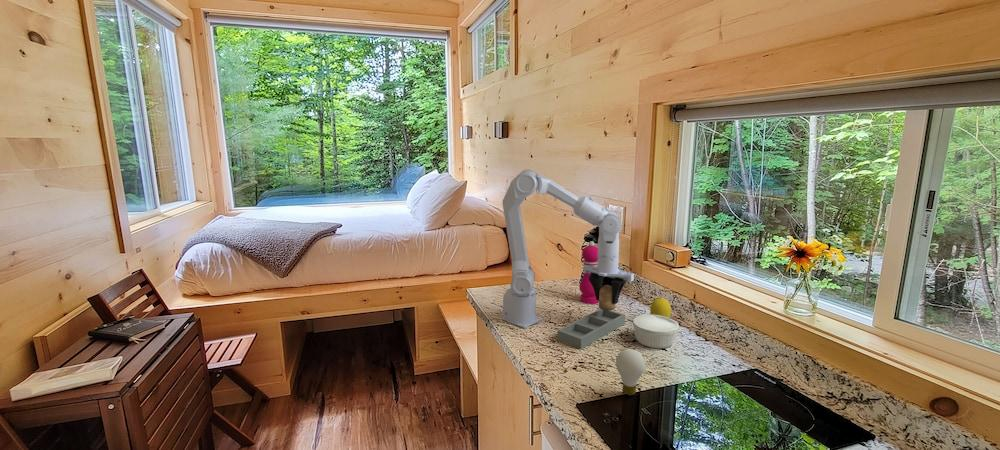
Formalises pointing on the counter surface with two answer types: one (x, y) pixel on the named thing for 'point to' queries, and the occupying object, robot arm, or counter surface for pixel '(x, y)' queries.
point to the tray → (590, 328)
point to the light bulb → (630, 369)
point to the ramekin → (655, 330)
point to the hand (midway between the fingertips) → (606, 301)
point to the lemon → (660, 307)
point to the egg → (606, 298)
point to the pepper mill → (585, 285)
